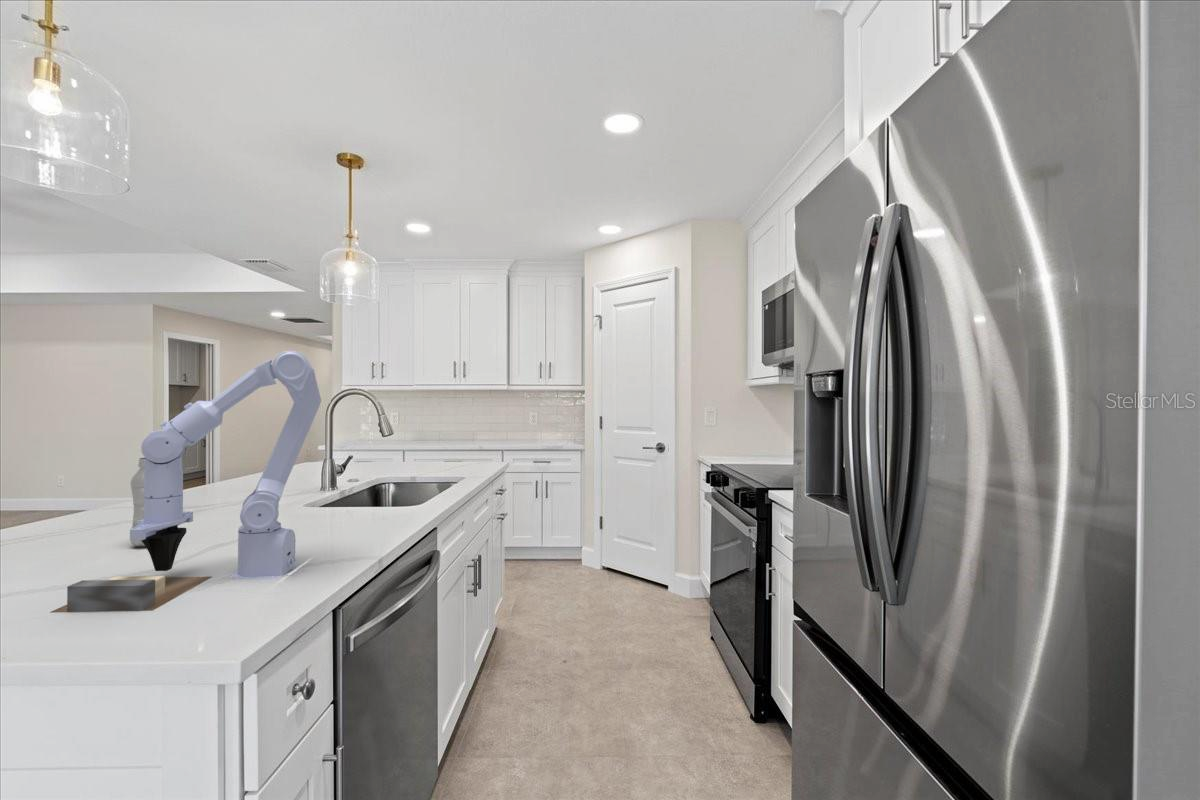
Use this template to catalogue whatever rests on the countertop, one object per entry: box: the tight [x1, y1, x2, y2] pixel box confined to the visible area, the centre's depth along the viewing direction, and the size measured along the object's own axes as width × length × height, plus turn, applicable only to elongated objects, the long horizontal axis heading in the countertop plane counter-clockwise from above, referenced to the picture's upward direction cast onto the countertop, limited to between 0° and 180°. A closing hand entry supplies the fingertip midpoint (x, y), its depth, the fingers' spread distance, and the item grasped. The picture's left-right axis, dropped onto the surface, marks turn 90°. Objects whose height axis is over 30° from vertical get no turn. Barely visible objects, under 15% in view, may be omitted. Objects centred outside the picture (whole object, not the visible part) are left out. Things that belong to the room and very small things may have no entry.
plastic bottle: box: [130, 457, 146, 547], centre depth 131 cm, size 6×7×20 cm
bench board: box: [49, 576, 212, 614], centre depth 99 cm, size 15×17×5 cm
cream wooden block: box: [107, 575, 166, 598], centre depth 97 cm, size 8×5×3 cm, turn 96°
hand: (163, 569), depth 105 cm, fingers closed
